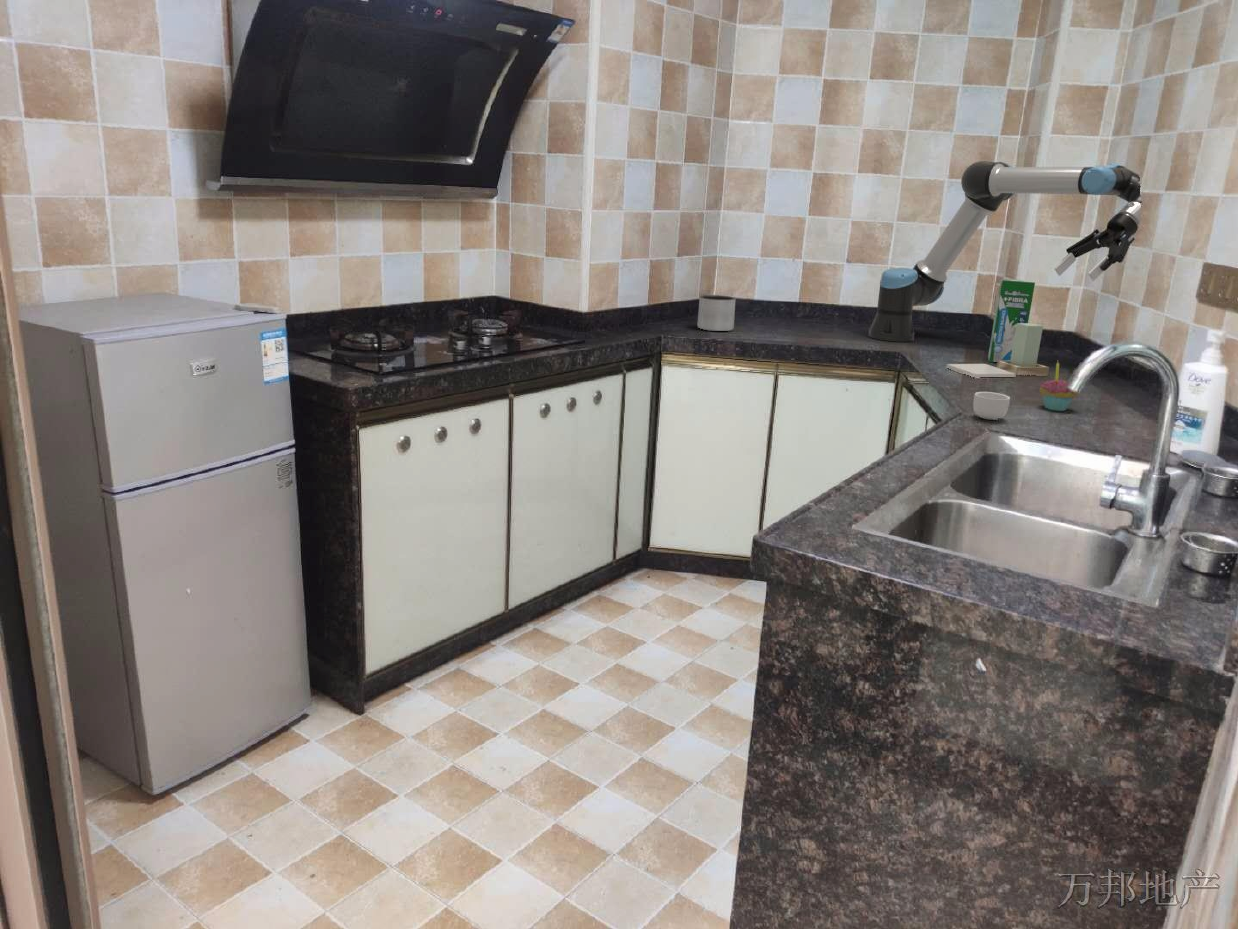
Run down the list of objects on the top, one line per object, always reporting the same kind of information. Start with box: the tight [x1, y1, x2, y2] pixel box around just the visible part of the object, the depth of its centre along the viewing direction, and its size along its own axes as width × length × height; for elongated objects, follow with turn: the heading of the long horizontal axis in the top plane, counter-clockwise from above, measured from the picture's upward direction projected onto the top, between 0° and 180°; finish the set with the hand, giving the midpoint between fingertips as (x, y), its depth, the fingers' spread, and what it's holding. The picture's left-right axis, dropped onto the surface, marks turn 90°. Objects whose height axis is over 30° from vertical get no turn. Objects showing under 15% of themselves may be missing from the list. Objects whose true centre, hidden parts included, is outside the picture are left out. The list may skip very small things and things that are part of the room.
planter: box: [696, 294, 736, 332], centre depth 320 cm, size 12×12×11 cm
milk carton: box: [987, 279, 1036, 363], centre depth 283 cm, size 9×9×25 cm
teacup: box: [972, 391, 1011, 419], centre depth 215 cm, size 10×8×5 cm
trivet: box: [946, 363, 1017, 379], centre depth 267 cm, size 14×13×1 cm
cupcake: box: [1039, 360, 1078, 412], centre depth 226 cm, size 9×8×12 cm
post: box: [1010, 322, 1044, 367], centre depth 269 cm, size 5×5×14 cm
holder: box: [995, 361, 1050, 377], centre depth 270 cm, size 10×10×2 cm
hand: (1073, 274), depth 265 cm, fingers open, 13 cm apart
